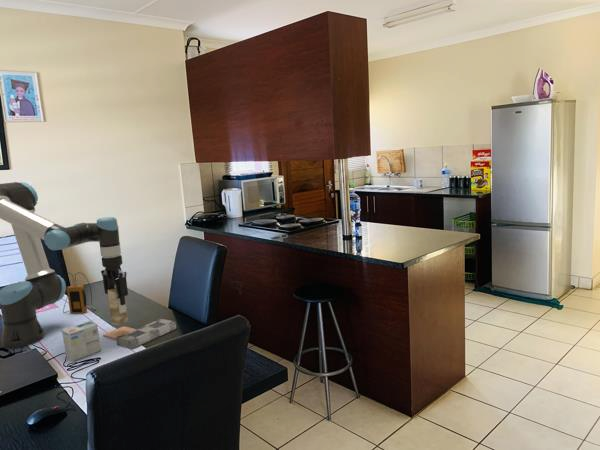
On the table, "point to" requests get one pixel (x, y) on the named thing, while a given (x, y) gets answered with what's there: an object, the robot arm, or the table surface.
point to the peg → (116, 308)
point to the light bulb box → (81, 340)
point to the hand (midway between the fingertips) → (118, 311)
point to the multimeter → (77, 298)
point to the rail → (145, 333)
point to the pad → (118, 332)
